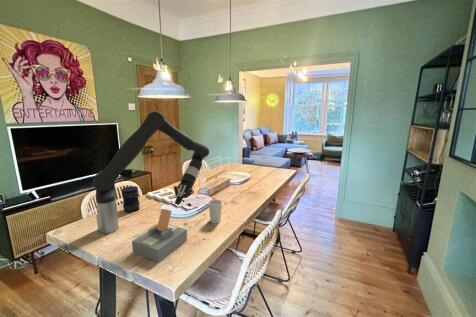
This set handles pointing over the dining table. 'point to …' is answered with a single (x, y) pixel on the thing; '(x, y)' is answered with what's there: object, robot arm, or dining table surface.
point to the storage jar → (130, 199)
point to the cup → (215, 210)
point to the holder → (163, 192)
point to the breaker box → (159, 242)
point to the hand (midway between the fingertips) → (176, 204)
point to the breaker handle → (163, 221)
